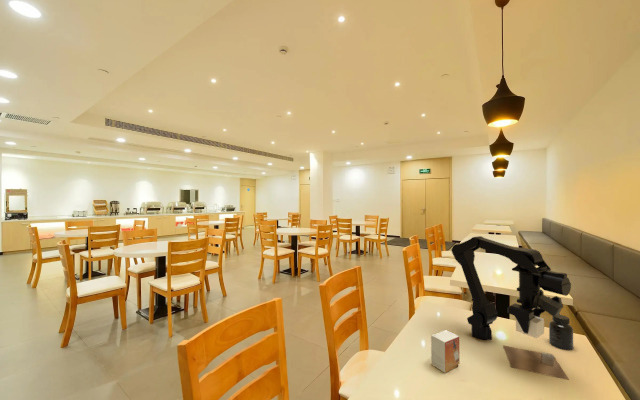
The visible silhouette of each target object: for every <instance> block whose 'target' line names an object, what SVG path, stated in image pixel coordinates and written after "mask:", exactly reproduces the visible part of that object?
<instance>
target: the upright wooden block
mask: <svg viewBox="0 0 640 400" xmlns="http://www.w3.org/2000/svg"><path fill="white" fill-rule="evenodd" d="M540 353H541V362H542V364H546V365H551V366H554V357H555V356H554V355H553V353H549V352H545V351H544V352H543V351H540Z"/></svg>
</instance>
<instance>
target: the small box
mask: <svg viewBox="0 0 640 400" xmlns="http://www.w3.org/2000/svg"><path fill="white" fill-rule="evenodd" d="M430 342H431V343H430V345H431V347H430V349H431V350H430V351H431V352H430V353H431V356H430V359H431V360H430V361H431V365H432V366H434V367H435V368H437V369H438V370H439V371H441V372H443V373H444V374H446V373H448V372H450V371H452V370H453V369H456V368H458V367H459V364H461V363H460V336H459V335H458V334H455V333H453V332H451V331H449V330H447V329H444V330H441V331H439V332H437V333H434V334H431V335H430Z"/></svg>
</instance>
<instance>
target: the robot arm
mask: <svg viewBox="0 0 640 400" xmlns="http://www.w3.org/2000/svg"><path fill="white" fill-rule="evenodd" d="M479 249H483V250H484V251H488V252H491V253H493V254H497V255H499V256H502V257H505V258H506V259H509V260H510V261H511V262H512V263H514V264H515V266H514V267H512V268H511V270H512V271H514V272H518V287H516V292H518V293H519V294H518V296H519V297H518V298H517V299H516V303H513V304H511V305H509V306H507V313H508V315H511V316H513V317H515V320H516V319H517V321H518V323H519V324H520V326H521V328H522V330H523V332H524V333H526V334H528V331H529V326H530V320H532V319H533V318H535V316H537V317H540V318H541V314H543V313H545V312H546V313H548V314H549V315H551V316H552V317H553V316H556V315H558V314H560V313H561V311H562V309H563V308H564V303H563V301H562V298H561V297H560V296H561V295H562V296H564V297H567V296H568V295H570V292H571V289H572V283H571V281H570V278H569V277H568V274H567V273H566V272H557V271H552V268H551V267H550V266H549V264H548V263H547V262H546V261H545V260H544V258H543V255H542V254H541V252H540V251H538V250H537V249H533V248H527V247H515V246H512V245H508V244H505V243H502V242H499V241H495V240H492V239H488V238H486V237H484V236H481V235H480V236H472V237H471V238H469V239H468V240H466V241H463V242H461V243H458V244H454V245H453V246H452V247H451V253H452V256H453V258H454V259H455V261H456V262H457V263H458V264H459V265H460V266H461V269H462V272H463V275H464V277H465V281H466V284H467V286H468V290H469V292H470V295H471V298H472V307H471V311H472V315H470V316H469V317H467V318H466V321H467V323H468V324H469V325H470V327H471V329H470V330H471V331H470V332H471V337H472V338H475V339H477V340H480V341H492V339H493V338H492V336H493V335H492V332H493V331H492V328H491V326H490V325H492V324H493V322H495V321H496V320H497V318H498V314H499V312H498V310H497V309H496V304H495V303H494V302H490V300H489V299H487V297H486V294H485V292H484V288H483V286H482V283H481V280H480V278H479V274H478V271H477V269H476V265H475V263H474V262H475V256H476V255H475V251H477V250H479ZM544 291H545V292H550V293H553V294H556V295H555V296H553V297H550V296H546V295H544V294H545V293H544ZM557 294H558V295H560V296H557ZM526 334H525V335H526Z"/></svg>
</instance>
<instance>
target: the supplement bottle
mask: <svg viewBox="0 0 640 400" xmlns="http://www.w3.org/2000/svg"><path fill="white" fill-rule="evenodd" d="M548 326H549V327H548V338H549V339H548V342H549V344H550V346H552V347H554V348H556V349H559V350H561V351H562V350H563V351H573V350H574V328H573V326H572V325H571V324H570V318H569V316H566V315H564V314H560V313H559V314H558V315H556V316H552V319H551V321H549V323H548Z"/></svg>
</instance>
